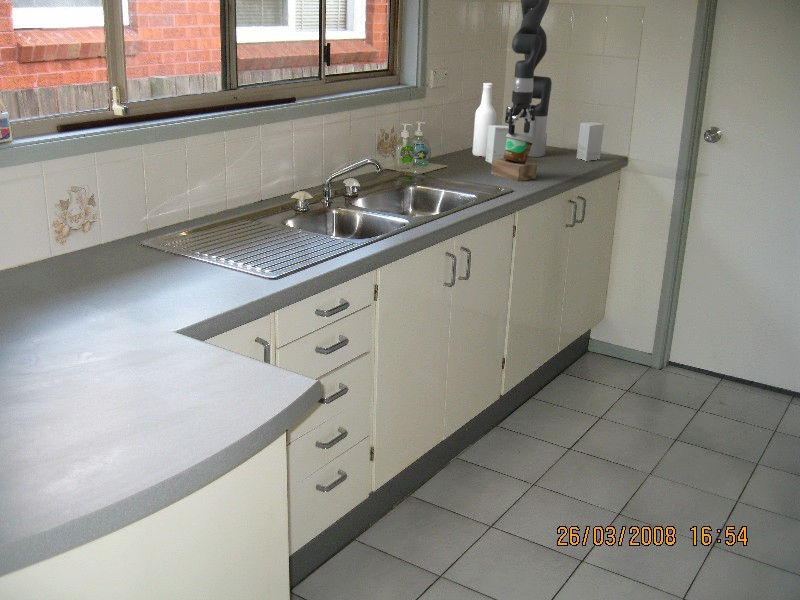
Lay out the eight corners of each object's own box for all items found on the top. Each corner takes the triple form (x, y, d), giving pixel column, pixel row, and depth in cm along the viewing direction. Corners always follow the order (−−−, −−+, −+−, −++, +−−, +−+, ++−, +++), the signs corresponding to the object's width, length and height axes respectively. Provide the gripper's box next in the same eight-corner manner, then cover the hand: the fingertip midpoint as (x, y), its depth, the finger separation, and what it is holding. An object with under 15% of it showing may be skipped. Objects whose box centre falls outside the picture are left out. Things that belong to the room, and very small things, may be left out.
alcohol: (481, 152, 380) (486, 81, 370) (497, 155, 374) (503, 83, 364) (468, 154, 374) (473, 82, 364) (484, 157, 368) (489, 85, 358)
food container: (493, 155, 334) (500, 129, 333) (503, 158, 339) (510, 133, 337) (518, 161, 326) (525, 134, 324) (528, 164, 330) (535, 138, 329)
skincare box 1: (491, 164, 356) (494, 127, 351) (484, 161, 362) (487, 125, 357) (509, 163, 360) (512, 127, 355) (502, 160, 365) (505, 124, 360)
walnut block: (508, 172, 344) (510, 157, 342) (535, 179, 334) (537, 163, 332) (491, 175, 338) (492, 159, 336) (517, 182, 328) (519, 166, 326)
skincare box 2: (590, 157, 380) (594, 121, 374) (600, 160, 374) (605, 124, 369) (575, 159, 376) (579, 122, 370) (585, 161, 370) (590, 124, 365)
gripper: (527, 87, 332) (523, 130, 338) (502, 89, 323) (498, 133, 329) (542, 90, 327) (538, 133, 333) (517, 92, 318) (513, 136, 324)
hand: (518, 133), depth 331 cm, fingers open, 8 cm apart
